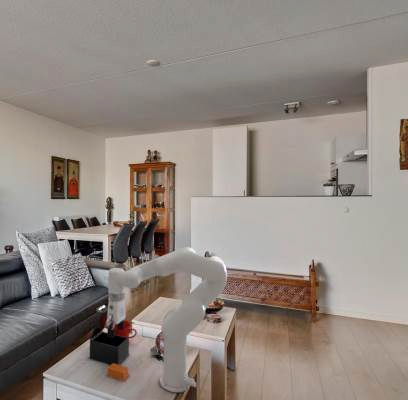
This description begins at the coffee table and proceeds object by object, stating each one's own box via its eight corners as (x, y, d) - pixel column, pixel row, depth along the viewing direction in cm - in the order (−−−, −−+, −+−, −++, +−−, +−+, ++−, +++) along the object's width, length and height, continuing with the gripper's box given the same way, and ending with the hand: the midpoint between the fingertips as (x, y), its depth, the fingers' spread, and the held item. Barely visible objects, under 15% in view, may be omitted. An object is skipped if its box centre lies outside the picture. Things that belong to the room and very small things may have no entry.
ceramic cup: (132, 351, 162) (132, 332, 162) (102, 344, 169) (103, 326, 169) (140, 341, 173) (140, 323, 173) (112, 335, 180) (112, 318, 180)
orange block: (128, 375, 139) (128, 367, 139) (123, 381, 135) (123, 372, 135) (112, 370, 143) (112, 363, 143) (107, 376, 138) (107, 368, 138)
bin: (128, 355, 157) (128, 337, 157) (118, 366, 146) (118, 348, 146) (101, 348, 165) (102, 331, 165) (89, 358, 153) (89, 340, 153)
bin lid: (114, 304, 161) (106, 299, 163) (102, 312, 150) (95, 306, 152) (102, 331, 164) (95, 325, 166) (90, 340, 153) (83, 334, 155)
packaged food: (175, 352, 160) (175, 343, 160) (164, 362, 151) (164, 352, 151) (160, 348, 166) (160, 338, 166) (149, 356, 156) (149, 347, 156)
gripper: (115, 302, 132) (114, 342, 132) (131, 292, 147) (131, 328, 147) (99, 299, 135) (99, 339, 135) (117, 289, 151) (116, 325, 151)
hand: (115, 333), depth 141 cm, fingers open, 9 cm apart
